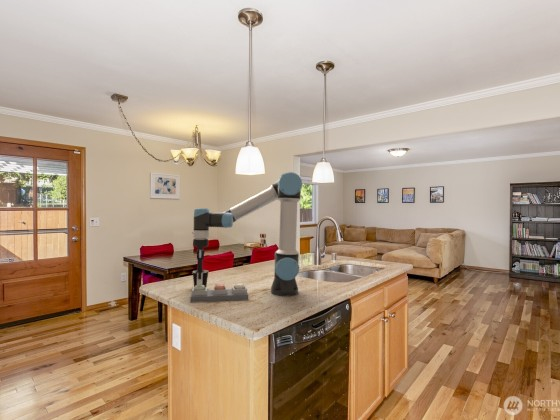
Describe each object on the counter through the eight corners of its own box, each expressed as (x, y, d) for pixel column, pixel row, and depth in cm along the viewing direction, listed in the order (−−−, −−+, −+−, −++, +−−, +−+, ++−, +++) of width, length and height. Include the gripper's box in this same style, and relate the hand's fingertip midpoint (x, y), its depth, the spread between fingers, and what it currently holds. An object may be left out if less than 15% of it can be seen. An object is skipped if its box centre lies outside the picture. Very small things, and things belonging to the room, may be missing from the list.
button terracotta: (224, 288, 162) (224, 284, 162) (224, 290, 157) (224, 286, 157) (214, 288, 161) (215, 284, 161) (215, 291, 156) (215, 286, 156)
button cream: (243, 287, 164) (243, 283, 164) (244, 289, 160) (244, 285, 160) (234, 287, 163) (234, 283, 163) (235, 290, 158) (235, 286, 158)
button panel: (245, 293, 168) (245, 284, 168) (248, 299, 156) (248, 290, 156) (191, 295, 162) (192, 286, 162) (190, 302, 150) (190, 292, 150)
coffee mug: (203, 291, 169) (204, 273, 169) (189, 290, 171) (189, 272, 171) (212, 286, 180) (213, 269, 180) (199, 285, 182) (199, 268, 182)
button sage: (204, 288, 160) (204, 284, 160) (204, 291, 155) (204, 287, 155) (195, 289, 159) (195, 285, 159) (194, 291, 154) (194, 287, 154)
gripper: (193, 237, 162) (192, 282, 162) (192, 239, 150) (191, 288, 150) (208, 237, 164) (207, 282, 164) (208, 240, 151) (207, 288, 151)
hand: (199, 285), depth 157 cm, fingers closed
